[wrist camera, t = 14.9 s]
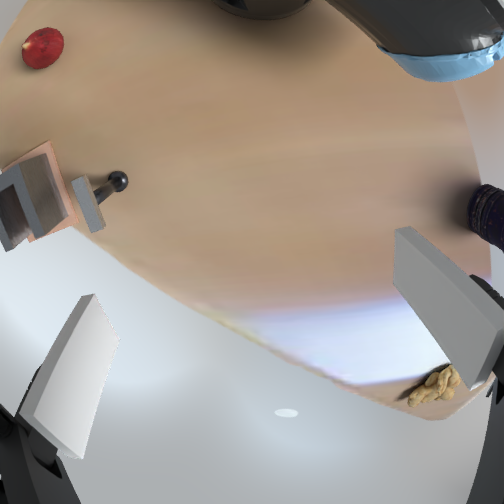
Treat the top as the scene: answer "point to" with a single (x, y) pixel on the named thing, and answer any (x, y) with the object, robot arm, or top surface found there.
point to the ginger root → (436, 387)
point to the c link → (29, 201)
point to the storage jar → (487, 214)
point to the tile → (49, 151)
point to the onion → (42, 48)
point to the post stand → (97, 197)
